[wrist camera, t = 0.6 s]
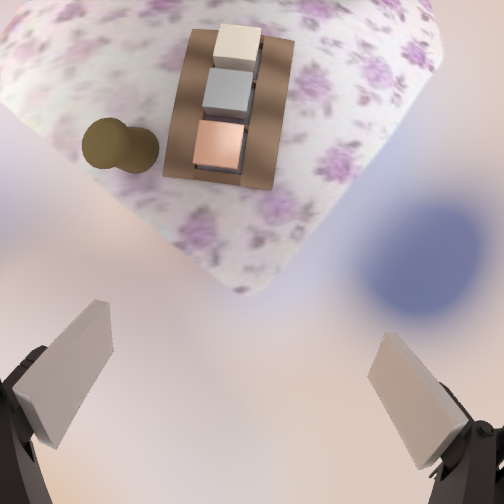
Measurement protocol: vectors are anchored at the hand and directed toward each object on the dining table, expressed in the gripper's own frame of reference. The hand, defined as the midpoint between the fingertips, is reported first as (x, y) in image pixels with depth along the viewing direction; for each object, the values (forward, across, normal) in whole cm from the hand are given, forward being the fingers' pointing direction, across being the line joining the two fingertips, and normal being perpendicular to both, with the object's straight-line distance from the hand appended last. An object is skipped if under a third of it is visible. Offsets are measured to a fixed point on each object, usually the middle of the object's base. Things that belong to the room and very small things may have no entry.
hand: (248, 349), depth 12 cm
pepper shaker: (+25, -15, +9) cm, 31 cm away
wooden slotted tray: (+25, -4, +16) cm, 30 cm away
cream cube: (+22, -4, +22) cm, 32 cm away
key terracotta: (+22, -4, +10) cm, 25 cm away
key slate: (+22, -4, +16) cm, 28 cm away
